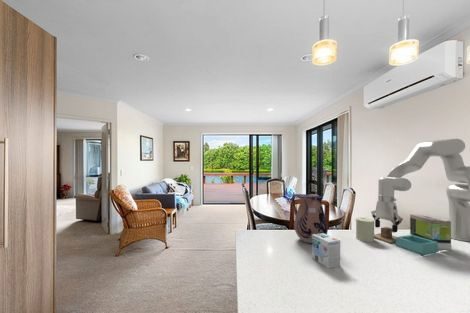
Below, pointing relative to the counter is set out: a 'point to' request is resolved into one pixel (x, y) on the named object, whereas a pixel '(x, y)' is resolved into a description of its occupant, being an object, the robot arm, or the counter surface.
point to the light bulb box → (326, 250)
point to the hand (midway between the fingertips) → (385, 229)
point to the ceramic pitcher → (309, 216)
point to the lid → (385, 235)
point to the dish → (417, 244)
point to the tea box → (431, 229)
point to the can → (365, 229)
